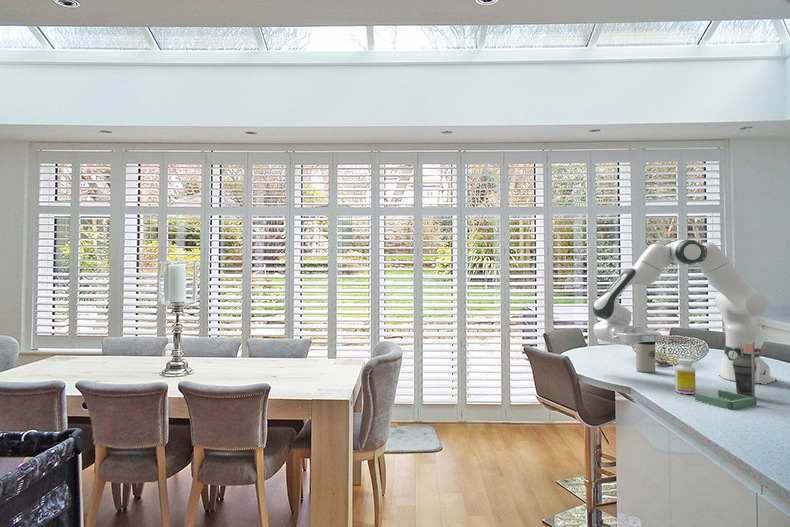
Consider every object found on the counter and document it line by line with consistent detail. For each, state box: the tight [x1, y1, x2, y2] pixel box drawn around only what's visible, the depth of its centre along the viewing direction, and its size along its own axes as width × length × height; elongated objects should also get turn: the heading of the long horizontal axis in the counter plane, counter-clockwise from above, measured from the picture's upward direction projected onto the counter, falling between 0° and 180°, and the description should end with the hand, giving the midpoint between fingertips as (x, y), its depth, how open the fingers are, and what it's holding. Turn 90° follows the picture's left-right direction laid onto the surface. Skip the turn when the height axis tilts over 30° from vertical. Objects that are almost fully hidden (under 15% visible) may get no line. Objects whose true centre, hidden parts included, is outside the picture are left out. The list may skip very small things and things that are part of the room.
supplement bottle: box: [674, 358, 696, 395], centre depth 178 cm, size 7×7×13 cm
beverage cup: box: [733, 343, 756, 397], centre depth 174 cm, size 7×7×20 cm
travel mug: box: [635, 342, 656, 374], centre depth 218 cm, size 8×8×18 cm
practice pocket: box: [694, 342, 757, 410], centre depth 165 cm, size 14×12×22 cm
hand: (655, 339), depth 190 cm, fingers closed
